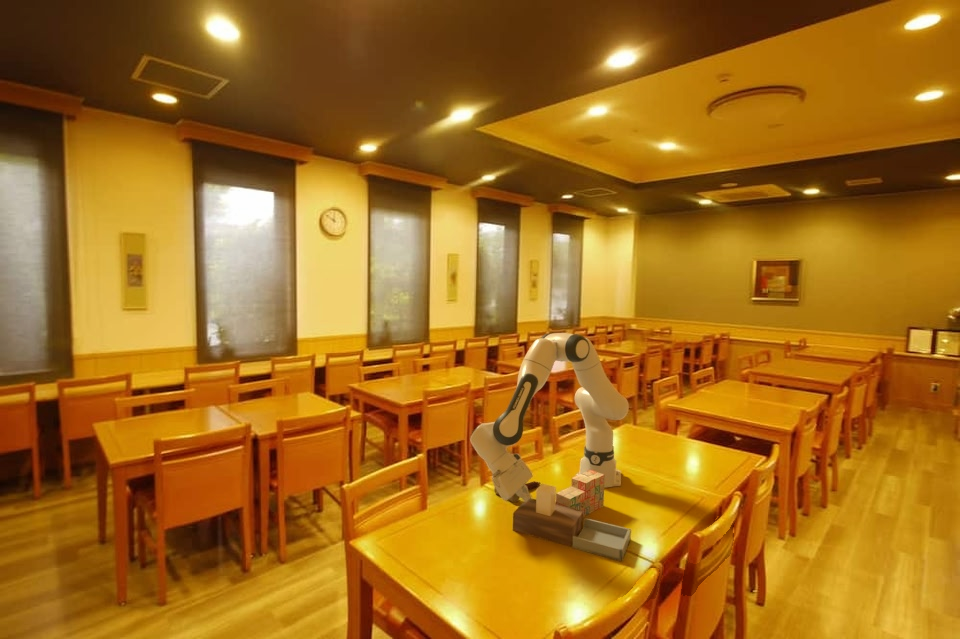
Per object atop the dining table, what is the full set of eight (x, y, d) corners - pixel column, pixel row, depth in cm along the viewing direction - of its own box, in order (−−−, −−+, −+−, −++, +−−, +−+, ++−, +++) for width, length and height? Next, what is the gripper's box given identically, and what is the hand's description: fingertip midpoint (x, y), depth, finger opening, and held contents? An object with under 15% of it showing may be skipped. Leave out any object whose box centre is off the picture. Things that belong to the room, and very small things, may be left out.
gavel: (531, 473, 196) (549, 481, 188) (530, 484, 196) (548, 492, 189) (494, 483, 183) (512, 492, 175) (493, 494, 183) (511, 504, 175)
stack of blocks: (569, 525, 160) (570, 490, 159) (554, 518, 164) (555, 484, 164) (603, 506, 174) (604, 474, 174) (589, 500, 179) (590, 469, 178)
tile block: (541, 506, 160) (541, 483, 160) (555, 509, 158) (555, 486, 157) (535, 512, 156) (536, 489, 155) (550, 516, 153) (550, 492, 153)
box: (584, 527, 158) (584, 517, 158) (630, 539, 151) (630, 529, 151) (572, 547, 146) (572, 537, 145) (621, 561, 139) (622, 550, 139)
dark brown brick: (527, 513, 167) (527, 497, 167) (582, 528, 158) (583, 510, 157) (512, 530, 156) (513, 512, 155) (571, 546, 146) (571, 528, 146)
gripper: (496, 471, 153) (523, 507, 149) (520, 452, 171) (545, 483, 167) (483, 481, 155) (510, 517, 152) (509, 461, 174) (533, 493, 170)
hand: (528, 499), depth 160 cm, fingers closed
